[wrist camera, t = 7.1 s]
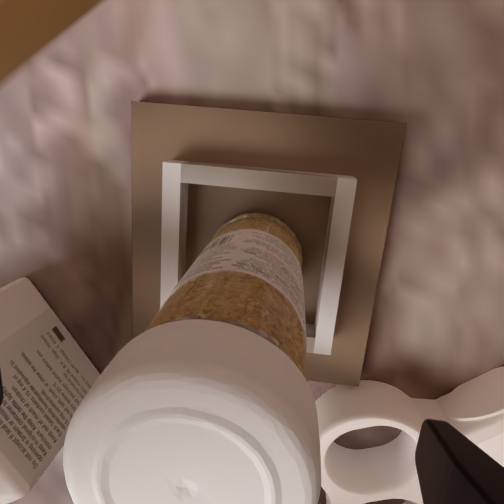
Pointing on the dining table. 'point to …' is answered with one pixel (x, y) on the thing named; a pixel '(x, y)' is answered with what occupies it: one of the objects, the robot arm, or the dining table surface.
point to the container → (35, 386)
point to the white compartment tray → (404, 445)
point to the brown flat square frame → (268, 209)
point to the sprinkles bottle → (209, 388)
